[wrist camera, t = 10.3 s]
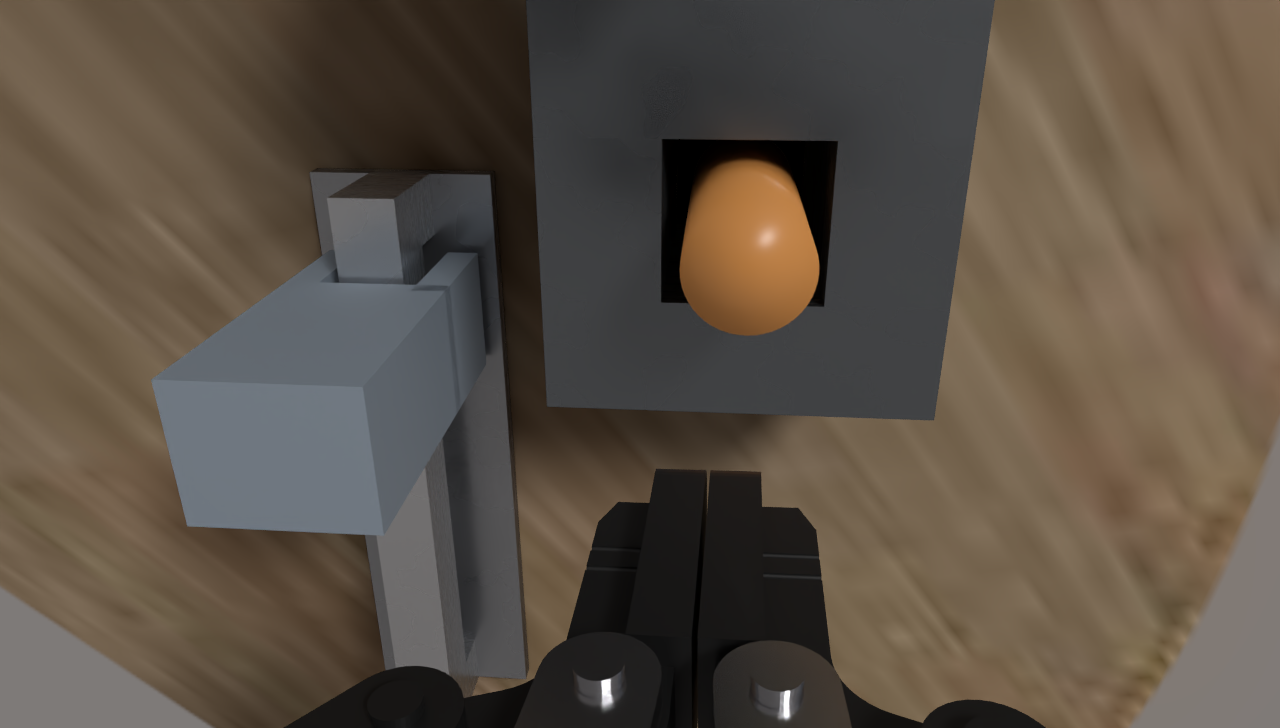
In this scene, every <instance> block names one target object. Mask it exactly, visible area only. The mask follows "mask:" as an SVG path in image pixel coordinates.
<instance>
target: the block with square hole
mask: <svg viewBox="0 0 1280 728" xmlns="http://www.w3.org/2000/svg"><path fill="white" fill-rule="evenodd" d="M994 1H995V0H526V8H527V27H528V47H529V66H530V86H531V105H532V125H533V144H534V164H535V183H536V202H537V222H538V241H539V261H540V280H541V300H542V319H543V339H544V358H545V378H546V397H547V407H574V408H602V409H630V410H658V411H686V412H714V413H742V414H770V415H798V416H826V417H854V418H882V419H910V420H934V416H935V409H936V402H937V395H938V389H939V382H940V375H941V368H942V361H943V354H944V347H945V340H946V333H947V326H948V319H949V313H950V306H951V299H952V292H953V285H954V278H955V271H956V264H957V257H958V250H959V243H960V236H961V230H962V223H963V216H964V209H965V202H966V195H967V188H968V181H969V174H970V167H971V160H972V153H973V147H974V140H975V133H976V126H977V119H978V112H979V105H980V98H981V91H982V84H983V77H984V71H985V64H986V57H987V50H988V43H989V36H990V29H991V22H992V15H993V8H994ZM678 139H714V140H802V141H805V153H804V167H803V181H802V196H801V202H802V205H803V208H804V212H805V215H806V218H807V221H808V224H809V227H810V230H811V234H812V237H813V240H814V243H815V246H816V250H817V253H818V259H819V277H818V283H817V286H816V290H815V292H814V294H813V297H812V299H811V300H810V302H809V303H808V305H807V306H806V308H805V309H804V310H803V311H802V313H801V314H799V315H798V316H797V317H796V318H795V319H794V320H793V321H791V322H790V323H789V324H787V325H785V326H783V327H782V328H780V329H777V330H775V331H772V332H769V333H765V334H760V335H750V336H744V335H736V334H731V333H727V332H724V331H721V330H719V329H717V328H715V327H713V326H711V325H710V324H708V323H707V322H705V321H704V320H703V319H702V318H701V317H699V316H698V315H697V313H696V312H695V311H694V310H693V309H692V307H691V306H690V304H689V303H688V301H687V299H686V297H685V295H684V292H683V289H682V286H681V281H680V260H681V254H682V247H683V240H684V234H685V227H686V221H687V219H677V166H678Z"/></svg>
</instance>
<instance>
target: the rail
mask: <svg viewBox="0 0 1280 728" xmlns="http://www.w3.org/2000/svg"><path fill="white" fill-rule="evenodd" d="M310 179H311V185H312V192H313V198H314V205H315V211H316V218H317V225H318V231H319V238H320V244H321V251H322V256H323V255H324V254H325V253H327V252H328V251H329V250H335V257H336V264H337V271H338V277H339V283H362V284H402V285H417V284H418V283H419V282H420V281H421V280H422V279H423V278H424V277H425V276H426V275H427V273H428V272H429V271H430V270H431V269H432V268H433V267H434V266H435V265H436V264H437V263H438V262H439V261H440V260H441V259H442V258H443V257H444V256H445V255H446V254H447V253H448V252H454V253H478V265H479V278H480V290H481V303H482V315H483V328H484V340H485V352H486V366H485V367H484V369H483V371H482V372H481V374H480V376H479V377H478V379H477V381H476V382H475V384H474V386H473V387H472V389H471V391H470V392H469V394H468V396H467V397H466V399H465V401H464V402H463V404H462V406H461V408H460V409H459V411H458V413H457V414H456V416H455V418H454V419H453V421H452V423H451V424H450V426H449V428H448V429H447V431H446V433H445V434H444V436H443V438H442V439H441V441H440V443H439V444H438V446H437V448H436V449H435V451H434V453H433V454H432V456H431V458H430V459H429V461H428V463H427V464H426V466H425V468H424V470H423V471H422V473H421V475H420V476H419V478H418V480H417V481H416V483H415V485H414V486H413V488H412V490H411V491H410V493H409V495H408V496H407V498H406V500H405V501H404V503H403V505H402V506H401V508H400V510H399V511H398V513H397V515H396V516H395V518H394V520H393V521H392V523H391V525H390V526H389V528H388V530H387V532H386V533H385V535H384V536H380V535H365V538H366V545H367V551H368V558H369V564H370V571H371V578H372V584H373V591H374V597H375V604H376V610H377V617H378V623H379V630H380V636H381V643H382V649H383V656H384V663H385V669H386V670H389V669H393V668H397V667H404V666H425V667H430V668H435V669H438V670H440V671H443V672H445V673H446V674H448V675H449V676H451V677H452V678H453V679H454V680H455V681H456V682H457V683H458V684H459V686H460V688H461V690H462V693H463V697H464V698H466V697H471V696H472V695H473V692H474V689H475V686H476V683H477V680H478V677H479V676H484V677H500V678H517V679H526V678H527V674H528V670H529V662H528V648H527V634H526V619H525V605H524V590H523V576H522V562H521V547H520V533H519V519H518V504H517V490H516V476H515V461H514V447H513V433H512V418H511V404H510V389H509V375H508V361H507V346H506V332H505V318H504V303H503V289H502V275H501V260H500V246H499V232H498V217H497V203H496V188H495V174H494V171H462V170H393V169H324V168H317V169H315V170H313V171H311V172H310Z"/></svg>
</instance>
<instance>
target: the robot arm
mask: <svg viewBox="0 0 1280 728" xmlns="http://www.w3.org/2000/svg"><path fill="white" fill-rule="evenodd" d="M697 724H698V728H1045V727H1044V726H1043V725H1041V724H1040V723H1039V722H1037V721H1035V720H1034V719H1032V718H1031V717H1029V716H1028V715H1026V714H1024V713H1022V712H1020V711H1018V710H1016V709H1013V708H1011V707H1008V706H1005V705H1002V704H998V703H994V702H990V701H983V700H961V701H954V702H951V703H947V704H945V705H942V706H940V707H938V708H937V709H935V710H934V711H933V712H931V713H930V714H929V715H928V716H927V718H926V719H925V720H924V722H923V723H921V722H917V721H914V720H911V719H908V718H905V717H901V716H898V715H895V714H892V713H889V712H887V711H884V710H881V709H879V708H877V707H875V706H873V705H871V704H869V703H867V702H866V701H864V700H863V699H861V698H859V697H858V696H857V695H856V694H854V693H853V692H852V691H851V690H850V689H849V688H848V687H847V686H846V685H845V684H844V683H843V682H842V681H841V679H840V678H839V676H838V674H837V672H836V671H835V669H834V666H833V664H832V659H831V653H830V645H829V636H828V628H827V619H826V611H825V602H824V594H823V585H822V580H821V568H820V560H819V551H818V543H817V534H816V529H815V528H814V527H813V526H812V524H811V523H810V522H809V521H808V520H807V518H806V517H805V516H804V515H803V513H802V512H801V511H800V510H799V508H781V507H762V492H761V472H747V471H714V470H711V471H710V483H709V496H708V509H707V472H706V470H676V469H656V471H655V476H654V482H653V487H652V492H651V498H650V503H632V502H618V503H617V504H616V505H615V506H614V507H613V508H612V509H611V510H610V511H609V512H608V513H607V514H606V515H605V516H604V517H603V518H602V519H601V520H600V521H599V522H598V525H597V529H596V533H595V536H594V540H593V544H592V551H590V555H589V559H588V562H587V570H585V573H584V577H583V581H582V584H581V588H580V592H579V595H578V599H577V603H576V607H575V610H574V614H573V618H572V621H571V625H570V629H569V632H568V636H567V640H566V641H564V642H562V643H561V644H559V645H558V646H556V647H555V648H553V649H552V650H551V651H550V652H549V653H548V654H547V655H546V656H545V658H544V659H543V660H542V662H541V664H540V666H539V668H538V670H537V673H536V675H535V678H534V679H532V680H530V681H528V682H526V683H524V684H522V685H519V686H516V687H513V688H510V689H506V690H502V691H497V692H492V693H487V694H482V695H477V696H471V697H466V698H464V697H463V693H462V690H461V688H460V686H459V684H458V683H457V682H456V681H455V680H454V679H453V678H452V677H451V676H449V675H448V674H446V673H445V672H443V671H440V670H438V669H435V668H430V667H425V666H404V667H397V668H393V669H389V670H385V671H383V672H380V673H378V674H375V675H373V676H371V677H369V678H367V679H365V680H363V681H362V682H360V683H358V684H357V685H355V686H353V687H351V688H350V689H348V690H346V691H345V692H343V693H341V694H340V695H338V696H336V697H335V698H333V699H331V700H330V701H328V702H326V703H325V704H323V705H321V706H320V707H318V708H316V709H315V710H313V711H311V712H309V713H308V714H306V715H304V716H303V717H301V718H299V719H298V720H296V721H294V722H293V723H291V724H289V725H288V726H286V727H284V728H697Z"/></svg>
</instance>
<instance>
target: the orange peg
mask: <svg viewBox="0 0 1280 728" xmlns="http://www.w3.org/2000/svg"><path fill="white" fill-rule="evenodd" d="M818 277H819V259H818V253H817V250H816V246H815V243H814V240H813V237H812V234H811V230H810V227H809V224H808V221H807V218H806V215H805V212H804V208H803V205H802V202H801V199H800V196H799V193H798V189H797V186H796V183H795V180H794V177H793V174H792V171H791V167H790V164H789V162H788V160H787V158H786V156H785V155H784V153H783V152H782V151H781V149H780V148H779V147H778V146H777V145H776V144H774V143H773V142H772V141H770V140H717V141H716V142H714V143H713V144H712V145H710V146H709V147H708V148H707V149H706V150H705V151H704V153H703V154H702V156H701V157H700V159H699V161H698V162H697V165H696V168H695V171H694V175H693V181H692V188H691V194H690V201H689V208H688V214H687V221H686V227H685V234H684V240H683V247H682V254H681V260H680V281H681V286H682V289H683V292H684V295H685V297H686V299H687V301H688V303H689V304H690V306H691V307H692V309H693V310H694V311H695V312H696V313H697V315H698V316H699V317H701V318H702V319H703V320H704V321H705V322H707V323H708V324H710V325H711V326H713V327H715V328H717V329H719V330H721V331H724V332H727V333H731V334H736V335H744V336H750V335H760V334H765V333H769V332H772V331H775V330H777V329H780V328H782V327H783V326H785V325H787V324H789V323H790V322H791V321H793V320H794V319H795V318H796V317H797V316H798V315H799V314H801V313H802V311H803V310H804V309H805V308H806V306H807V305H808V303H809V302H810V300H811V299H812V297H813V294H814V292H815V290H816V286H817V283H818Z"/></svg>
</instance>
